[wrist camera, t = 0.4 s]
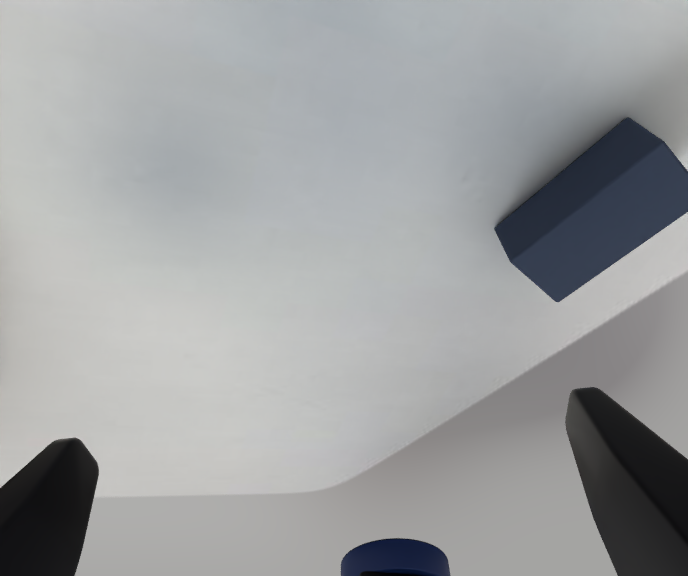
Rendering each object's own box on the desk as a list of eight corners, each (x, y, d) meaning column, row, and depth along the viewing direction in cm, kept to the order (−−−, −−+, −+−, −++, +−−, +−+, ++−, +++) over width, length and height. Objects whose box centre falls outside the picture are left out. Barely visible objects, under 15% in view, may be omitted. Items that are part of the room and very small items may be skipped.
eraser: (537, 268, 21) (557, 304, 19) (492, 228, 20) (509, 262, 18) (670, 168, 19) (709, 198, 17) (627, 115, 17) (664, 140, 15)
